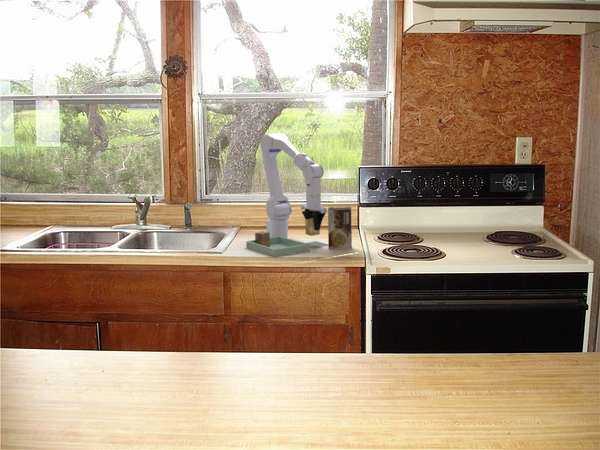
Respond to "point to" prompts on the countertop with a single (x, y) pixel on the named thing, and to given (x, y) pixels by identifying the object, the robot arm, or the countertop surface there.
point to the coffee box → (339, 228)
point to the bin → (279, 246)
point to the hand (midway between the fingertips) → (313, 229)
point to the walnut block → (262, 238)
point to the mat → (316, 244)
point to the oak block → (310, 227)
